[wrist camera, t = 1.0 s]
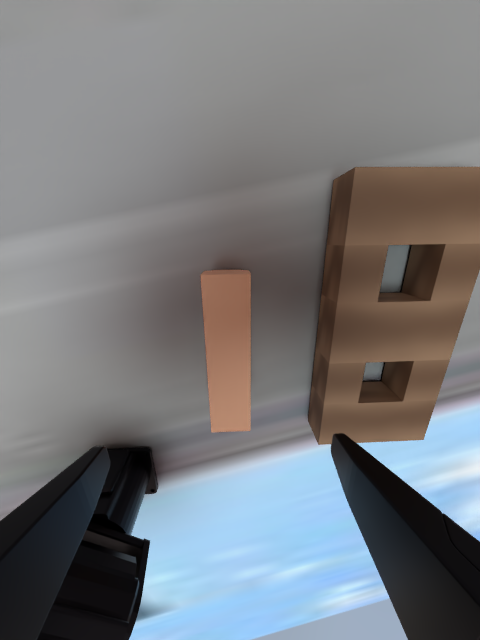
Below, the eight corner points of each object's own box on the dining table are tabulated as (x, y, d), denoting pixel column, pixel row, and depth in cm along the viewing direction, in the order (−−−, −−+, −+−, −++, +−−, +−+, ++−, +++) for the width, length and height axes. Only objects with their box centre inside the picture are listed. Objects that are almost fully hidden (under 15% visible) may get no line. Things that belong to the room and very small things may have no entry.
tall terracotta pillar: (246, 390, 22) (250, 430, 17) (215, 391, 22) (211, 432, 17) (245, 265, 18) (250, 273, 13) (208, 266, 18) (200, 274, 13)
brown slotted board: (400, 416, 24) (423, 439, 21) (307, 420, 24) (318, 444, 21) (465, 179, 17) (513, 166, 14) (333, 180, 16) (355, 167, 14)
